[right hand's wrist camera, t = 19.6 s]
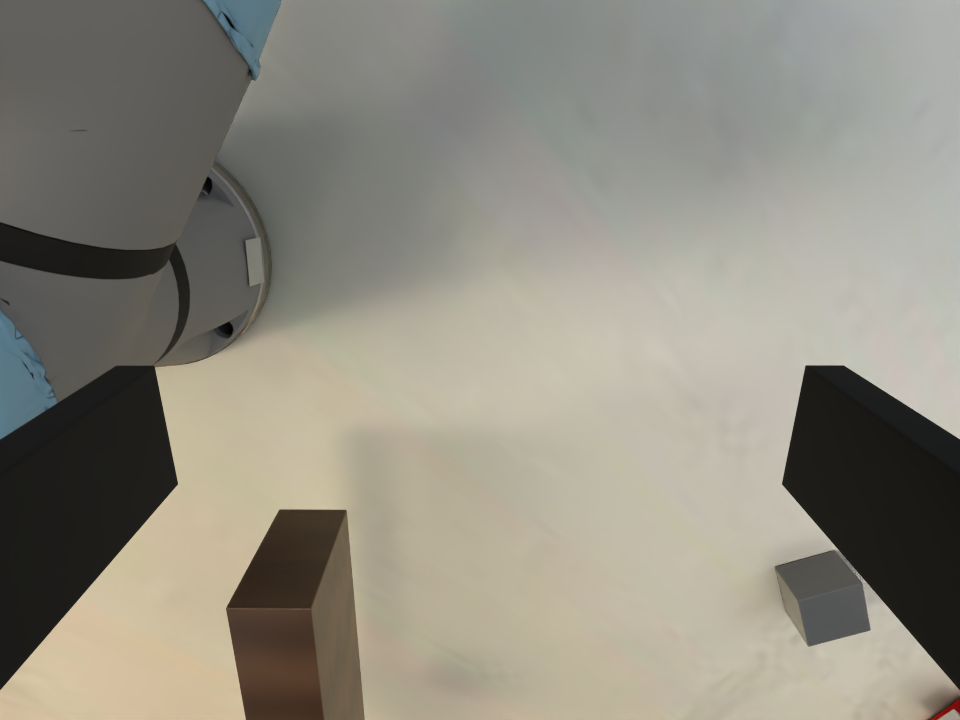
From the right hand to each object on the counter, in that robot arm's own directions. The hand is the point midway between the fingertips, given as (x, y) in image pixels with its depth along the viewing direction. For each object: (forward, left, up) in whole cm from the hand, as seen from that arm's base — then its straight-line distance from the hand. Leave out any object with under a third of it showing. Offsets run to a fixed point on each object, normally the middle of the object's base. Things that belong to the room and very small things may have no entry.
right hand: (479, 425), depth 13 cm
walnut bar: (-10, -27, -19) cm, 35 cm away
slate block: (+28, -30, -31) cm, 51 cm away
